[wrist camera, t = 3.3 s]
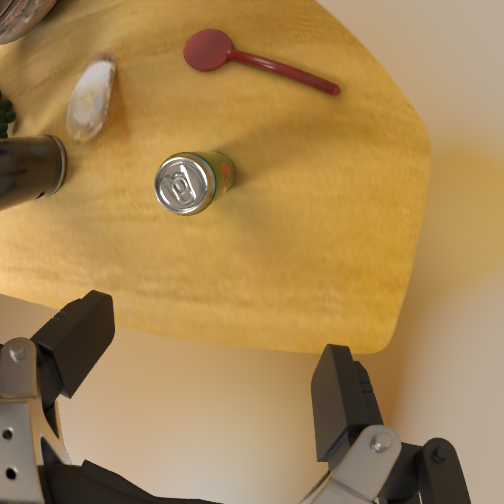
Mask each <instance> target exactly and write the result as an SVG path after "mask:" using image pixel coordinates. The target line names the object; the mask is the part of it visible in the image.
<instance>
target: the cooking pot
mask: <svg viewBox="0 0 504 504" xmlns="http://www.w3.org/2000/svg"><path fill="white" fill-rule="evenodd" d="M56 1H57V0H0V45H4V44H8V43H10V42H13V41H15V40H17V39H19V38H21V37H22V36H24V35H25V34H27V33H28V32H29V31H30V30H32V29H33V28H34V27H35V26H36V25H37V24H38V23H39V22H40V21H41V20H42V19H43V18H44V17H45V16H46V15H47V13H48V12H49V11H50V10H51V8H52V7H53V6H54V4H55V3H56Z"/></svg>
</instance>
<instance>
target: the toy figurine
mask: <svg viewBox="0 0 504 504" xmlns="http://www.w3.org/2000/svg"><path fill="white" fill-rule="evenodd" d="M1 96H2V93H1V91H0V99H1ZM10 106H11V101H10V100H4V101H3V102H1V101H0V139H6V138H7V137H8V134H7V133H6V132H7V129H8V123H11V122H12V121H13V120H14V119H15V113H14V112H13V111H9V112H8V113H7V110H9V108H10Z"/></svg>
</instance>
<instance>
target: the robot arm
mask: <svg viewBox="0 0 504 504" xmlns="http://www.w3.org/2000/svg"><path fill="white" fill-rule="evenodd" d="M65 173H66V154H65V150H64V147H63V145H62V143H61V142H60V140H59V139H58V138H57V137H55V136H53V135H41V136H27V137H15V138H6V139H0V212H1V211H3V210H6V209H9V208H11V207H14V206H17V205H20V204H23V203H26V202H29V201H32V200H35V199H36V200H38V199H40V198H42V197H46V196H50V195H52V194H54V193H55V192H57V191H58V189H59V188H60V187H61V185H62V183H63V180H64V177H65ZM36 200H35V201H36ZM114 333H115V323H114V312H113V300H112V297H111V295H108V294H105V293H102V292H99V291H96V290H92V291H90V292H89V293H88V294H87V295H86V296H85V297H83V298H82V299H80V298H79V299H77V300H75V301H73V302H70V303H68V304H67V305H66V306H65V307H64V308H62V309H61V310H60V313H59V312H58V313H57V314H56V315H55V316H54V318H51V319H50V320H49V321H48V322H47V323H46V324H45V325H44V326H43V327H42V328H41V329H40V330H39V331H37V333H35V334H34V335H33V336H32V337H31V338H30V339H27V338H21V337H20V338H14V339H11V340H10V341H8V342H7V343H5V344H4V345H3V344H0V504H222V503H216V502H211V501H205V500H201V499H178V498H163V497H156V496H153V495H151V494H149V493H148V492H146V491H144V490H142V489H141V488H139V487H137V486H136V485H134V484H133V483H131V482H129V481H128V480H126V479H125V478H123V477H122V476H120V475H119V474H116V473H114V472H112V471H109V470H107V469H105V468H102V467H100V466H98V465H96V464H94V463H92V462H90V461H87V460H84V462H83V464H82V466H78V465H72V463H71V460H70V458H69V455H68V453H67V451H66V448H65V445H64V441H63V436H62V430H61V423H60V417H59V409H58V402H57V400H56V398H57V397H58V396H59V394H62V395H64V396H65V397H67V398H69V399H71V398H72V396H73V395H74V393H75V392H76V390H77V389H78V387H79V386H80V384H81V383H82V382H83V380H84V379H85V378H86V376H87V375H88V373H89V372H90V370H91V369H92V368H93V367H94V365H95V364H96V362H97V361H98V360H99V358H100V357H101V356H102V354H103V353H104V352H105V350H106V349H107V347H108V346H109V345H110V344H111V342H112V340H113V337H114ZM311 395H312V405H313V416H314V427H315V438H316V452H317V462H328V464H329V469H328V470H327V471H326V473H325V474H324V475H323V476H322V477H321V479H320V480H319V481H318V482H317V483H316V484H315V486H314V487H313V488H312V489H311V490H310V491H309V493H307V495H306V496H305V497H304V498H303V499H302V500H301V501H300V502H299V503H298V504H377V503H375V502H374V501H375V499H376V497H378V498H379V504H421V503H420V497H419V493H420V495H421V500H422V504H471V501H470V497H469V493H468V490H467V486H466V482H465V479H464V475H463V472H462V469H461V466H460V462H459V459H458V456H457V453H456V451H455V448H454V447H453V446H452V444H451V443H450V442H449V441H447V440H445V439H442V438H433V439H430V440H429V441H428V442H427V443H426V444H425V445H424V446H417V445H412V444H407V443H403V442H401V440H400V438H399V436H398V435H397V433H395V431H393V430H392V429H390V428H389V427H387V426H384V424H383V420H382V417H381V414H380V411H379V407H378V404H377V401H376V397H375V394H374V393H373V388H372V385H371V384H370V379H369V376H368V373H367V371H366V369H365V368H364V367H363V366H362V365H361V363H360V362H359V361H353V359H352V355H351V352H350V349H349V347H348V346H341V345H333V344H327V345H326V347H325V349H324V351H323V354H322V356H321V358H320V360H319V363H318V365H317V367H316V369H315V372H314V374H313V377H312V382H311Z"/></svg>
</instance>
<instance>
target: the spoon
mask: <svg viewBox="0 0 504 504" xmlns="http://www.w3.org/2000/svg"><path fill="white" fill-rule="evenodd" d="M184 57H185V60H186V61H187V63H188V64H189V65H190V66H191V67H193V68H194V69H197V70H200V71H211V70H215V69H217V68H219V67H221V66H222V65H224V64H225V63H226V62H227V61H228V60H233V61H236V62H240V63H244V64H247V65H251V66H254V67H257V68H261V69H264V70H267V71H270V72H273V73H276V74H279V75H282V76H285V77H288V78H290V79H293V80H296V81H298V82H301V83H304V84H306V85H309V86H311V87H314V88H316V89H319V90H321V91H323V92H326V93H328V94H330V95H333V96H336V95H338V94H339V93H340V88H339V86H338V85H336V84H334V83H332V82H329V81H327V80H325V79H322V78H320V77H317V76H315V75H312V74H310V73H307V72H305V71H302V70H299V69H297V68H294V67H291V66H288V65H285V64H283V63H280V62H277V61H274V60H270V59H267V58H264V57H261V56H257V55H254V54H250V53H247V52H243V51H239V50H235V49H232V43H231V41H230V39H229V37H228V36H227V35H226V34H225V33H224V32H222V31H219V30H215V29H207V30H202V31H200V32H198V33H196V34H194V35H193V36H192V37H191V38H190V39H189V40H188V41H187V43H186V45H185V47H184Z"/></svg>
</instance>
